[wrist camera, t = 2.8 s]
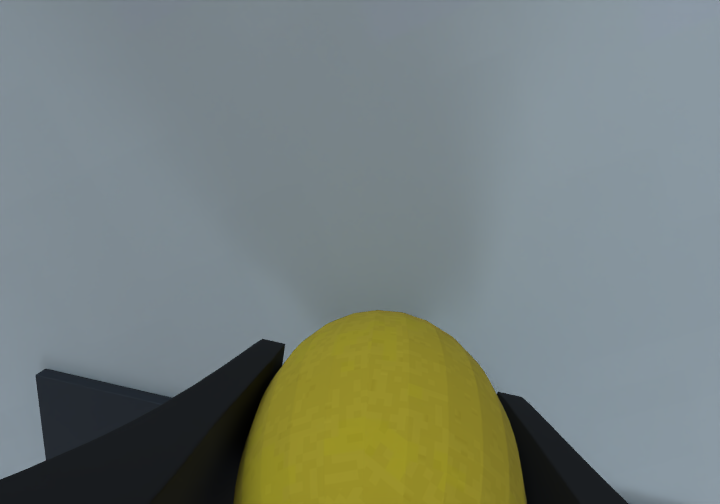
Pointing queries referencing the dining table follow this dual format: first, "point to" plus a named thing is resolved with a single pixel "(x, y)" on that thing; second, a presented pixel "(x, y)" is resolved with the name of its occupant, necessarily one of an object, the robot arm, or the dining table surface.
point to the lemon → (380, 422)
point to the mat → (85, 409)
